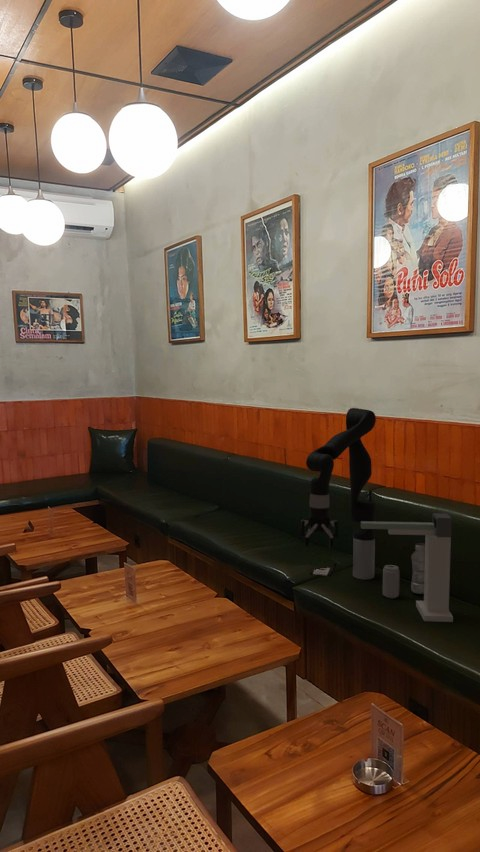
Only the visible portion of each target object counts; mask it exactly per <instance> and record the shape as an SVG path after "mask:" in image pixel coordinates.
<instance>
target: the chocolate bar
mask: <svg viewBox="0 0 480 852" xmlns="http://www.w3.org/2000/svg"><path fill="white" fill-rule="evenodd" d="M333 568H335V566H332V567H327V568H320V569H316V570H315V569H313V570H312V569H311V570H310V571H309V575H314V576H315V575H316V576H326V577H331V575H332V574H333V570H334V569H333Z"/></svg>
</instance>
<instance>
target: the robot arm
mask: <svg viewBox="0 0 480 852" xmlns="http://www.w3.org/2000/svg"><path fill="white" fill-rule="evenodd" d="M345 415H346V416H345V427H346V430H343V431H341V432H338V433H337V434H335V435H333V436H332V437H331V438H330V439H329V440H328V441H327V442H326V443H325V444H324V445H322V446H320V447H319V448H316V449H315V450H313V451H312V452H311V453H309V454H308V456H307V458H306V461H305V465H306V468H307V469H308V470H309V471H312V472H318V473H319V476H318V477H314V478H312V479H311V480H310V485H309V487H310V488H309V489H310V490H309V491H310V492H309V493H310V495H309V514H308V515H309V517H308V519H307V520H305V519H301V520H300V533H299V534H300V536H301V537H304V544H305V546H306V548H310V535H312V533H313V532H315V533H319V532H320V533H324V532H325V533H326V534H327V535H328V536H329V538H328V543H329V544H328V548H329V549H330V548H332V547H333V546H334V539H335V538H337V537H339V527H338V526H339V524H338V523H339V522H338V520H337V519H334V520H330V506H331V505H330V482H331V478H332V475H333V471H334V467H335V461H334V460H337V458H339V457H340V456H341V455H342V454H343V453H344V452H345V451H346V450H347V449H348V457H349V458H348V459H349V460H348V461H349V463H348V465H349V466H348V467H349V468H348V469H349V482H350V495H349V496H350V497H349V499H350V500H349V503H350V505H349V515H350V520H351V521H352V522H355V523H361V521H372V522H376V519H377V517H376V516H377V505H376V503H375V502H373V501H367V500H366V501H363V500H359V497H360V494H361V492H362V490H363V488H364V487H365V486H366V484H367V483H368V482H369V480H370V479H371V477H372V475H373V474H372V470H373V469H372V458H371V456H370V453H369V452H368V451H367V448H366V447H365V445H364V443H363V441H362V439H361V438H363V437H364V436H365V435H367V434H368V433H369V432H371V431H372V430H373V428H375V425H376V421H377V418H376V414H375V412H374V411H372V410H369V409H365V408H358V407H351V408H349V409H348V410H347V412H346V414H345ZM307 524H308V526H309V528H308V529H307V531H306V532H304V531H305V527H306V526H307ZM330 525H331V527H334V528H333V530H334V531H333V533H332V532H331V530H330V529H329V526H330ZM352 538H353V541H352V542H353V547H352V551H353V553H352V577H354V578H355V579H358V580H365V581H366V580H372V579H374V578H375V564H376V562H375V555H376V552H375V551H376V550H375V549H376V529H362V528H361V527H360V528H357V529H355V530H354V531H353V533H352Z"/></svg>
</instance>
